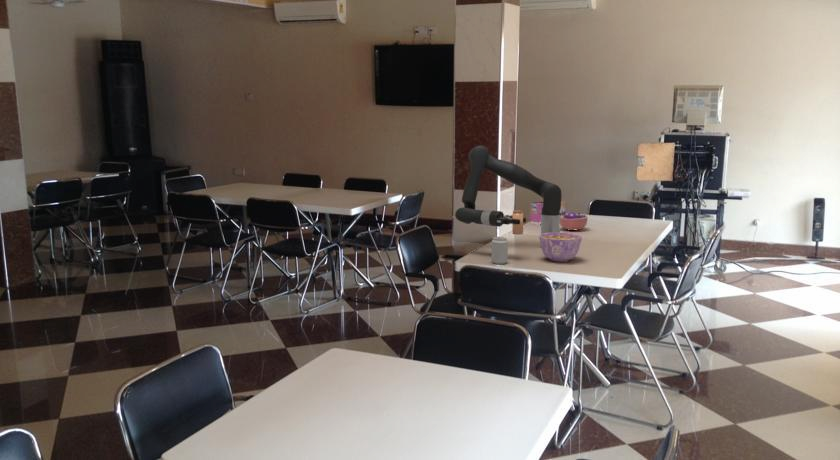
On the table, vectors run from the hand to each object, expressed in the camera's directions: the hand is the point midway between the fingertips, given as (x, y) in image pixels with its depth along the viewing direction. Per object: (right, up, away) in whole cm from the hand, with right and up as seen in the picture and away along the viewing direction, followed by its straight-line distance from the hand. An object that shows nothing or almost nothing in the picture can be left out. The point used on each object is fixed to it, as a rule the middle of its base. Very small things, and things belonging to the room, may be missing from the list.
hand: (522, 221), depth 330 cm
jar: (-2, -6, +3) cm, 7 cm away
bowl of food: (+18, -19, +3) cm, 26 cm away
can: (-11, -20, -3) cm, 23 cm away
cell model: (+43, -5, +87) cm, 97 cm away
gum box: (+33, 0, +113) cm, 117 cm away
